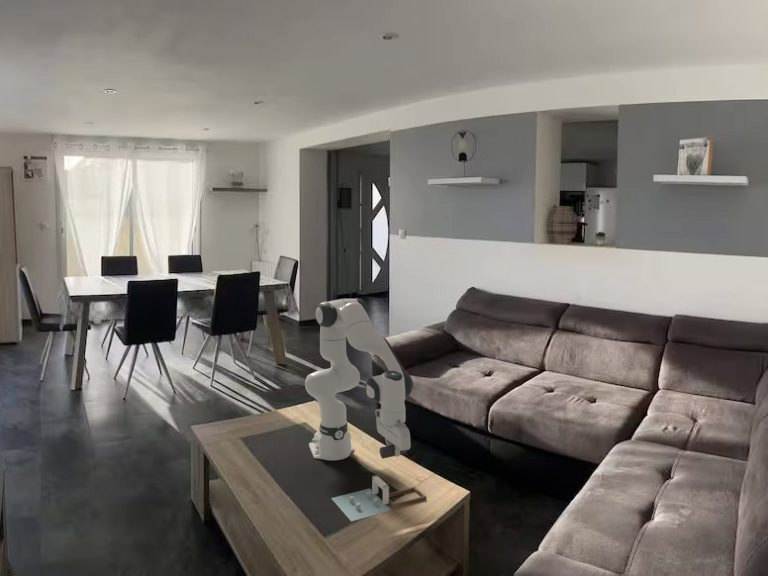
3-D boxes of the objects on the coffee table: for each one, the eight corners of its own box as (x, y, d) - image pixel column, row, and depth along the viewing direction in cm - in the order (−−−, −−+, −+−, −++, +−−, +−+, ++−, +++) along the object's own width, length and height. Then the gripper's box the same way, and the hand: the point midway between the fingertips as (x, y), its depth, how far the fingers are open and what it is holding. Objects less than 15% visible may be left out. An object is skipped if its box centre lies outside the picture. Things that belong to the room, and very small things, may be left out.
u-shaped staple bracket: (372, 493, 223) (372, 476, 222) (377, 492, 224) (376, 475, 223) (384, 504, 215) (383, 487, 214) (388, 503, 216) (388, 486, 215)
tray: (383, 500, 221) (383, 494, 220) (414, 491, 227) (414, 486, 227) (394, 510, 213) (394, 505, 213) (426, 501, 219) (426, 496, 219)
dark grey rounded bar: (379, 456, 216) (379, 445, 215) (401, 451, 220) (401, 441, 219) (384, 460, 212) (384, 449, 212) (406, 455, 216) (406, 444, 216)
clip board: (331, 500, 221) (331, 493, 220) (369, 490, 228) (369, 483, 227) (351, 524, 205) (351, 515, 204) (392, 512, 212) (392, 504, 212)
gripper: (415, 424, 206) (415, 462, 208) (388, 406, 224) (388, 441, 226) (398, 427, 203) (399, 465, 205) (373, 409, 221) (373, 444, 223)
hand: (393, 452), depth 216 cm, fingers closed on dark grey rounded bar, 4 cm apart
